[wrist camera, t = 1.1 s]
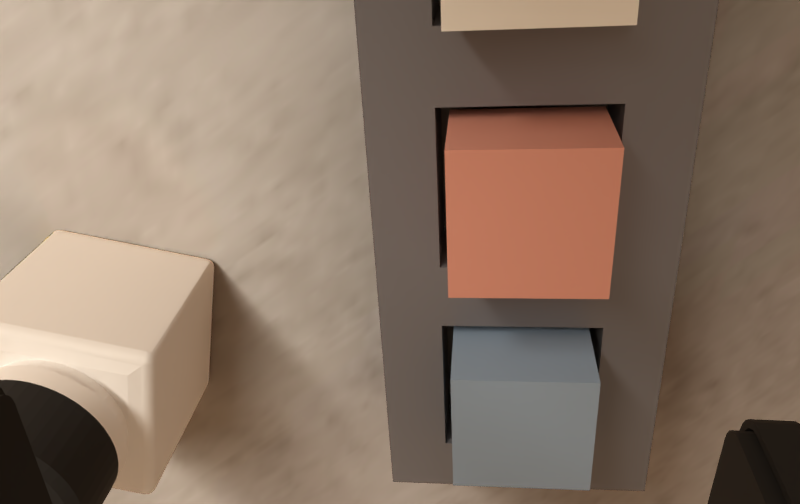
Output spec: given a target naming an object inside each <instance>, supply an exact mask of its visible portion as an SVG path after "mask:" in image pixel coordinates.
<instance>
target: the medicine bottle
mask: <svg viewBox="0 0 800 504" xmlns="http://www.w3.org/2000/svg"><path fill="white" fill-rule="evenodd" d="M213 282H214V264H213V262H212V261H211V260H208V259H205V258H200V257H195V256H190V255H185V254H180V253H175V252H170V251H165V250H159V249H154V248H149V247H144V246H139V245H134V244H129V243H124V242H119V241H114V240H109V239H104V238H99V237H94V236H89V235H84V234H79V233H73V232H68V231H63V230H57V231H54V232H53V233H52V234H51V235H49V236H48V237H47V238H46V239H45V240H44V241H43V242H42V243H41V244H40V245H39V246H37V247H36V248H35V249H34V250H33V251H32V252H31V253H30V254H29V255H28V256H26V257H25V258H24V259H23V260H22V261H21V262H20V263H19V264H18V265H17V266H16V267H14V268H13V269H12V270H11V271H10V272H9V273H8V274H7V275H6V276H5V277H3V278H2V279H1V280H0V387H1V388H2V390H3V391H4V393H5V395H9V396H10V397H11V398H12V399H13V400H14V402H15V404H16V407H17V410H18V413H19V415H20V418H21V421H22V423H23V426H24V429H25V431H26V434H27V437H28V439H29V442H30V445H31V447H32V450H33V453H34V455H35V458H36V461H37V463H38V466H39V469H40V472H41V474H42V477H43V480H44V482H45V485H46V488H47V490H48V493H49V496H50V498H51V501H52V504H103V502H104V500H105V498H106V497H107V495H108V493H109V491H110V490H111V488H116V489H121V490H126V491H131V492H136V493H141V494H150V493H152V492H153V491H154V490H155V488H156V486H157V484H158V482H159V480H160V478H161V476H162V474H163V472H164V470H165V468H166V466H167V464H168V462H169V460H170V458H171V456H172V454H173V453H174V451H175V449H176V447H177V445H178V443H179V441H180V439H181V437H182V435H183V433H184V431H185V429H186V427H187V425H188V423H189V421H190V419H191V417H192V415H193V413H194V411H195V409H196V407H197V405H198V403H199V401H200V399H201V397H202V395H203V393H204V391H205V389H206V387H207V385H208V383H209V367H210V346H211V325H212V303H213Z"/></svg>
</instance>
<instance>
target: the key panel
mask: <svg viewBox="0 0 800 504" xmlns="http://www.w3.org/2000/svg"><path fill="white" fill-rule="evenodd" d="M718 4H719V0H639V8H638V18H637V25H627V26H596V27H565V28H535V29H504V30H473V31H443V32H441V0H354V8H355V20H356V32H357V45H358V57H359V69H360V82H361V94H362V106H363V118H364V131H365V143H366V155H367V167H368V180H369V192H370V204H371V217H372V229H373V241H374V253H375V266H376V278H377V290H378V303H379V315H380V327H381V339H382V352H383V364H384V376H385V388H386V401H387V413H388V425H389V438H390V450H391V462H392V474H393V482H414V483H441V484H453V459H452V421H451V383H450V379H451V363H452V347H453V331H454V326H492V327H569V328H589V331H590V336H591V341H592V345H593V350H594V355H595V359H596V364H597V369H598V373H599V378H600V383H601V385H600V395H599V405H598V415H597V424H596V434H595V444H594V454H593V464H592V474H591V484H590V489H602V490H628V491H645V485H646V478H647V472H648V465H649V458H650V452H651V445H652V439H653V432H654V426H655V419H656V412H657V406H658V399H659V393H660V386H661V379H662V373H663V366H664V360H665V353H666V347H667V340H668V333H669V327H670V320H671V314H672V307H673V300H674V294H675V287H676V281H677V274H678V268H679V261H680V254H681V248H682V241H683V235H684V228H685V221H686V215H687V208H688V202H689V195H690V189H691V182H692V175H693V169H694V162H695V156H696V149H697V142H698V136H699V129H700V123H701V116H702V110H703V103H704V96H705V90H706V83H707V77H708V70H709V63H710V57H711V50H712V44H713V37H714V31H715V24H716V17H717V11H718ZM600 106H606V109H607V111H608V113H609V115H610V117H611V119H612V122H613V124H614V126H615V128H616V130H617V133H618V135H619V137H620V139H621V141H622V144H623V146H624V157H623V167H622V177H621V187H620V197H619V206H618V216H617V226H616V236H615V246H614V256H613V266H612V276H611V286H610V296H609V299H532V298H448V268H447V229H446V191H445V153H444V150H445V142H446V134H447V126H448V119H449V111H450V110H453V109H502V108H551V107H600Z"/></svg>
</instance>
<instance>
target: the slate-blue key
mask: <svg viewBox="0 0 800 504" xmlns="http://www.w3.org/2000/svg"><path fill="white" fill-rule="evenodd" d="M450 383H451V421H452V459H453V485H460V486H486V487H513V488H539V489H566V490H590V484H591V474H592V464H593V454H594V444H595V434H596V424H597V415H598V405H599V395H600V385H601V383H600V378H599V373H598V369H597V364H596V359H595V355H594V350H593V345H592V341H591V336H590V331H589V328H569V327H492V326H454V331H453V347H452V363H451V379H450Z"/></svg>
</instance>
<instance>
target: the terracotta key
mask: <svg viewBox="0 0 800 504" xmlns="http://www.w3.org/2000/svg"><path fill="white" fill-rule="evenodd" d="M444 153H445V191H446V229H447V268H448V298H532V299H609V296H610V286H611V276H612V266H613V256H614V246H615V236H616V226H617V216H618V206H619V197H620V187H621V177H622V167H623V157H624V146H623V144H622V141H621V139H620V137H619V135H618V133H617V130H616V128H615V126H614V124H613V122H612V119H611V117H610V115H609V113H608V111H607V109H606V106H600V107H551V108H502V109H453V110H450V111H449V119H448V126H447V134H446V142H445V150H444Z"/></svg>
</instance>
